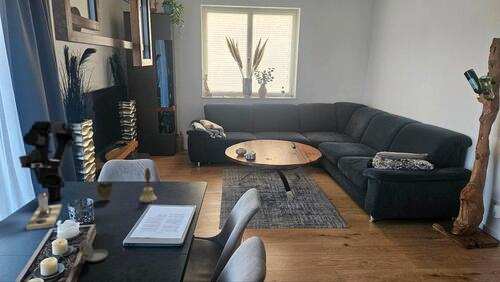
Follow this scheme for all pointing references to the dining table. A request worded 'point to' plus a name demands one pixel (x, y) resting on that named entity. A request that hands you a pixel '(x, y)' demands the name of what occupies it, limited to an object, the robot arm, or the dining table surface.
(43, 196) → the grey copper topped cylinder
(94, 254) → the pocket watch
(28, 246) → the dining table surface
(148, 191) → the hand bell
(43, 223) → the pitch plate
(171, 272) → the dining table surface
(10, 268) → the dining table surface
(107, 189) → the cup
